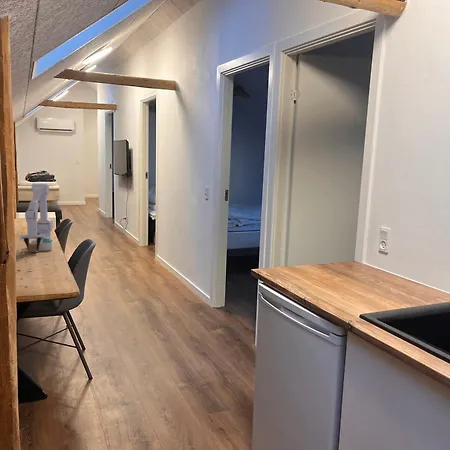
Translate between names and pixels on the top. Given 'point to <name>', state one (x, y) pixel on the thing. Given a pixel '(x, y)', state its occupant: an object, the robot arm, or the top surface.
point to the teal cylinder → (46, 240)
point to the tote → (44, 245)
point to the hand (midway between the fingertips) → (33, 249)
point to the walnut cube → (32, 247)
